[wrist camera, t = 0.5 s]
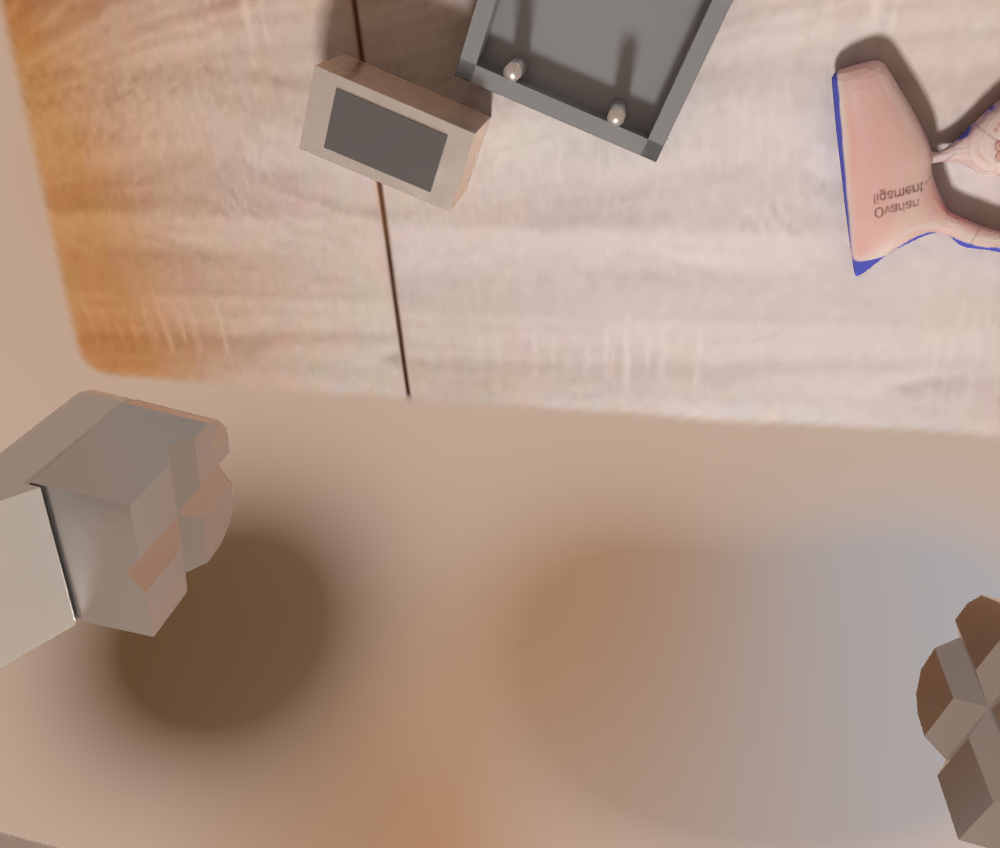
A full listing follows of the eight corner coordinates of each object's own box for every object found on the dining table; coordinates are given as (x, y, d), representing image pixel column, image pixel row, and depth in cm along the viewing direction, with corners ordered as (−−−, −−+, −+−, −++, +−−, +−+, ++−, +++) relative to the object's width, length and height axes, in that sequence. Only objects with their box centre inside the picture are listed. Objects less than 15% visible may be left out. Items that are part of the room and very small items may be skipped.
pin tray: (527, -141, 40) (514, -147, 37) (748, -42, 41) (755, -40, 38) (464, 68, 47) (448, 80, 43) (656, 151, 47) (655, 168, 44)
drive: (345, 53, 48) (314, 65, 43) (491, 115, 48) (474, 134, 44) (329, 129, 50) (298, 148, 46) (467, 188, 51) (449, 212, 47)
